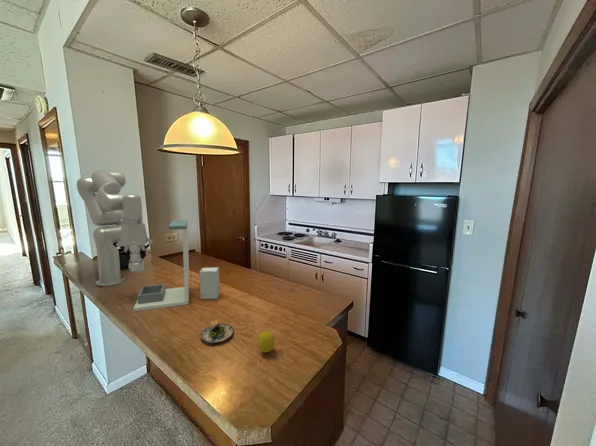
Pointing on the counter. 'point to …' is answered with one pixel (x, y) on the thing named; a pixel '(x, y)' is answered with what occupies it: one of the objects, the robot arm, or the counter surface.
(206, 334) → the plate of salad
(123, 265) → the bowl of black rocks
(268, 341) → the lemon
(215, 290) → the skincare box
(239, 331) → the counter surface
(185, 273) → the socket stand
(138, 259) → the grey tall bottle shape
